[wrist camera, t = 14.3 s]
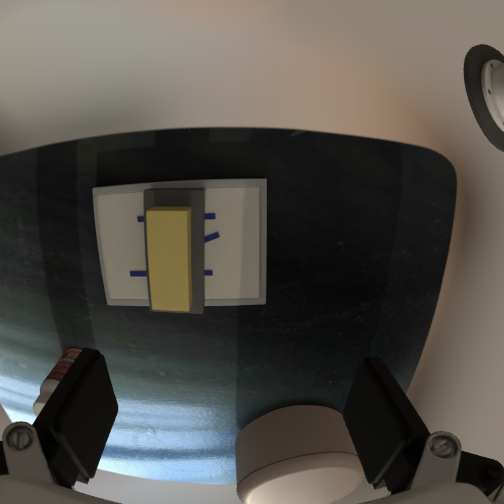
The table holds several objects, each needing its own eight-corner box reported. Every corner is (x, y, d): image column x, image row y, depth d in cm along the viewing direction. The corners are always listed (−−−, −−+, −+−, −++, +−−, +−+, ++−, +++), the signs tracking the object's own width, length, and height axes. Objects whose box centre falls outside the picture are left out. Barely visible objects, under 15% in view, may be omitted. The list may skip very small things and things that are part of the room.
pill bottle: (58, 357, 33) (22, 407, 22) (78, 339, 33) (39, 392, 22) (88, 386, 35) (60, 440, 24) (110, 371, 34) (81, 429, 23)
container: (339, 382, 37) (368, 443, 26) (349, 444, 42) (368, 494, 31) (217, 416, 37) (216, 482, 26) (253, 471, 42) (258, 522, 31)
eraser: (150, 188, 27) (134, 192, 23) (205, 188, 28) (199, 192, 23) (155, 300, 31) (143, 323, 26) (205, 302, 31) (201, 326, 26)
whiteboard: (265, 178, 29) (266, 178, 28) (264, 300, 33) (265, 304, 32) (96, 187, 28) (92, 188, 27) (110, 301, 31) (107, 305, 30)
